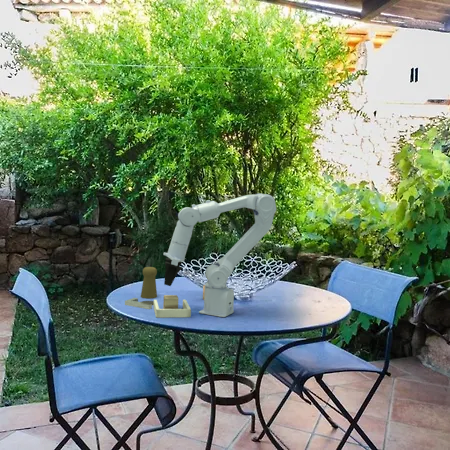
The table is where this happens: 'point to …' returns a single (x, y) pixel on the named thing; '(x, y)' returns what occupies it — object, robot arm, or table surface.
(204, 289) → the tan rounded-top cylinder
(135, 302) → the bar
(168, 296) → the block
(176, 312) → the u-shaped bracket
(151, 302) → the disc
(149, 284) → the cork
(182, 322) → the table surface
